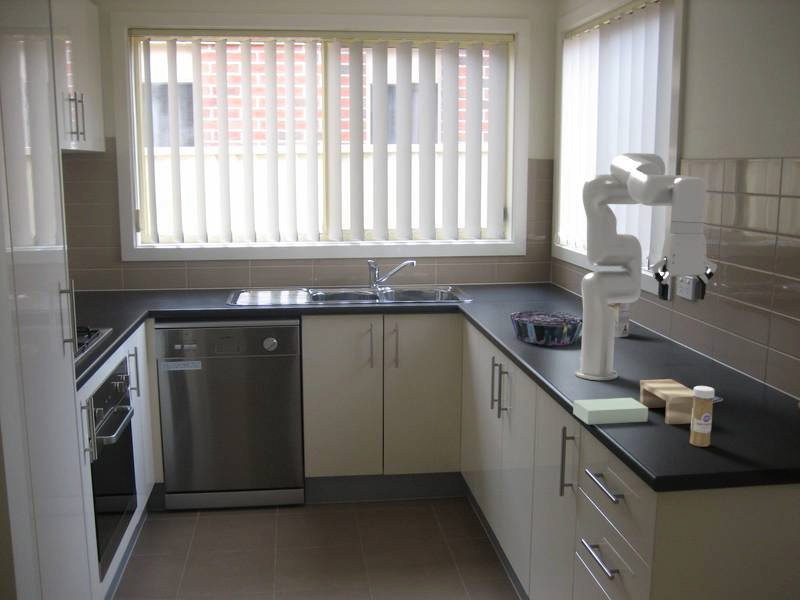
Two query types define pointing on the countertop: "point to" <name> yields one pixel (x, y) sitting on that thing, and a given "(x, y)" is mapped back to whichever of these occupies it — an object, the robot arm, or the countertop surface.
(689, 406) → the birch shelf
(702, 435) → the sprinkles bottle
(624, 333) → the coffee box
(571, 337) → the decorative bowl
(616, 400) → the mint green block
